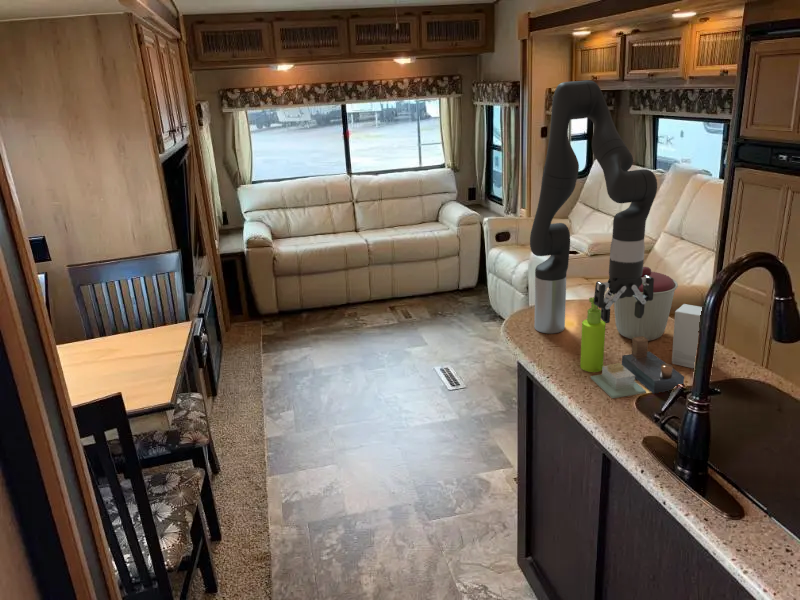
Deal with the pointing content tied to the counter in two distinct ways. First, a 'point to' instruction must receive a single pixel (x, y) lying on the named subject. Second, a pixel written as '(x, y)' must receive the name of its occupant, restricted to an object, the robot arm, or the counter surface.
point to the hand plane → (650, 368)
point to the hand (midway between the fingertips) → (621, 319)
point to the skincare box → (686, 335)
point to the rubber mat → (616, 394)
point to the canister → (646, 309)
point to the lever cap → (618, 377)
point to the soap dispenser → (592, 340)
